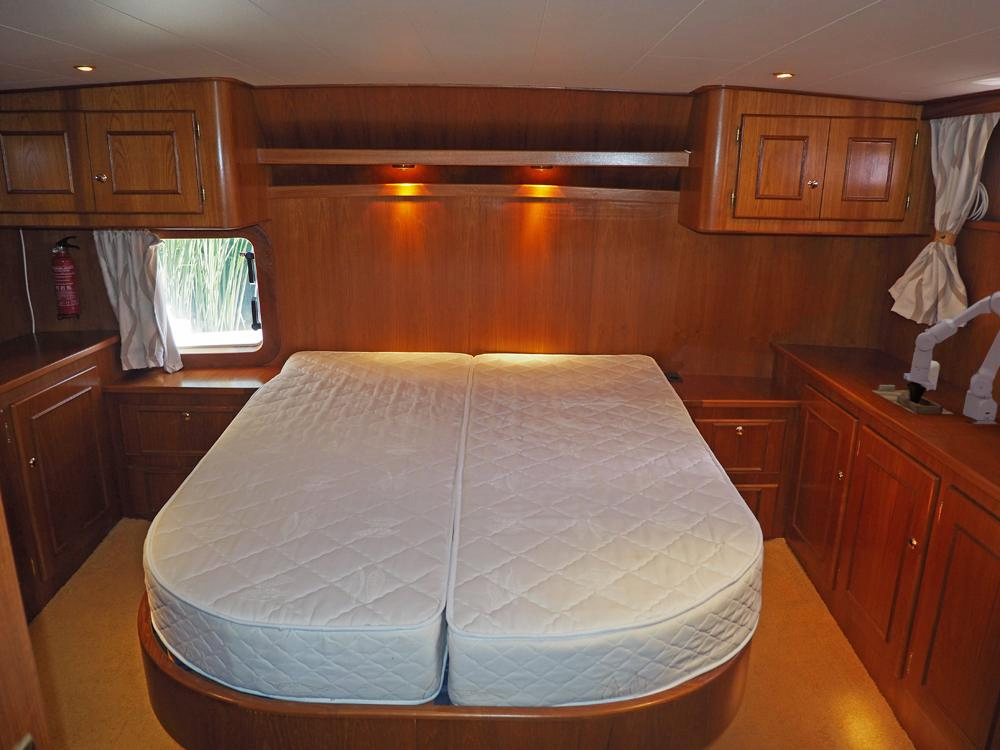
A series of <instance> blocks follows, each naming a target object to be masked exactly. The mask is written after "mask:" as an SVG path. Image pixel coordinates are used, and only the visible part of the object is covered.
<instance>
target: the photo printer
mask: <svg viewBox="0 0 1000 750" xmlns="http://www.w3.org/2000/svg"><path fill="white" fill-rule="evenodd" d="M939 372H940V363H939V362H938V361H936V360H932V361H931V367H930V372H929V378H928V379H929V381H930V382H931V383H933V384H934V388H933V390H934V391H936V389H937V385H938V384H937V383H938V378H939ZM931 390H932V389H927V390H926V391H925V392H927V391H931Z"/></svg>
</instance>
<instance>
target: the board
mask: <svg viewBox="0 0 1000 750" xmlns="http://www.w3.org/2000/svg"><path fill="white" fill-rule="evenodd" d="M902 390H903V389H902ZM902 390H901V389H900V390H898V389H897V390H896V385H894V384H878V388H877V390H876V389H875V390H870V391H871V392H873V393H875V394H877V395H879V396H881V397H882V398H884V399H886V400H887V401H890V402H892V403H894V404H895V405H897V406H899V407H901V408H903V409H905V410H907V411H909V412H910V413H912V414H914V415H916V414H918V413H916V412H914V411H912V410H910V409H908V408H906V407H905V406H903V405H901V404H899V403H897V396H901V392H902ZM918 405H920V406H923V405H921V404H919V403H918ZM946 414H947V415H954V412H952V411H949V410H947V409H945V408H943V411H942V414H941V415H946ZM918 415H919V414H918Z"/></svg>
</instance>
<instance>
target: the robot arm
mask: <svg viewBox="0 0 1000 750" xmlns="http://www.w3.org/2000/svg"><path fill="white" fill-rule="evenodd" d="M992 311H993V312H994V313H996V314H997V315H998V316H999V317H1000V290H999V291H995V292H994V293H993V294H992V295H988V296H986V297H984V298H982V299H981V300H978V301H977V302H975V303H974V304H972V305H971V306H970V307H968V308H967V309H965V310H963V311H962V312H960V313H959V314H958V315H956V316H955V317H953V318H944V319H943V320H942V319H940V320H938V321H937V323H936V324H935V325H933V326H932V327H930V328H926V329H925V330H924V331H925V332H922V333H920V334H918V336H917V337H916V339H915V348H914V352H913V356H912V361H911V367H910V372H909V373H906V372H905V373H903V379H904V380H906V381H908V382H907V383H906V386H907V388H908V390H909V392H910V399H911V401H912V402H914V403H916V404H918V403H919V401H920V399H921V397H923V395H924V394H925V392H927V391H926V390H927V389H931V390H934V389H933V388H934V384H933V383H931V382H930V381H929V379H928V378H929V372H930V367H931V361H933V350H934V348H935V345H936V344H940V343H941V342H943V341H944V340H947V338H949V337H951V336H953V335H954V334H957V332H958V327H960V326H962V325H963V324H965V323H967V322H969V321H970V320H972V319H974V318H975V317H977V316H979V315H981V314H992ZM999 368H1000V329H999V330H998V332H997V334H996V336H995V338H994V340H993V343H992V344H991V347H990V349H989V350H988V352H987V354H986V356H985V358H984V361H983V362H982V365H981V366H980V368H979V369H978V371H977V372H976V373H975V374H973V375H972V376H971V378H970V385H969V389H968V390H967V391H966V395H965V400H964V401H965V402H964V405H963V411H962V414H963V415H964V416H966V417H969V418H971V419H974V420H968V422H969V423H972V424H973V425H997V422H996V420H995V419H996V417H997V416H996V415H997V410H998V403H997V402H996V401H995V400H994V399H993V393H992V391H993V381H994V380H995V378H996V374H997V372H998V370H999Z"/></svg>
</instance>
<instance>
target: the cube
mask: <svg viewBox="0 0 1000 750" xmlns="http://www.w3.org/2000/svg"><path fill="white" fill-rule="evenodd" d="M901 396H902V397H904V398H906V399H908V400H910V401H911V399H910V392H909V389H908V390H904V389H902V392H901Z"/></svg>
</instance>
